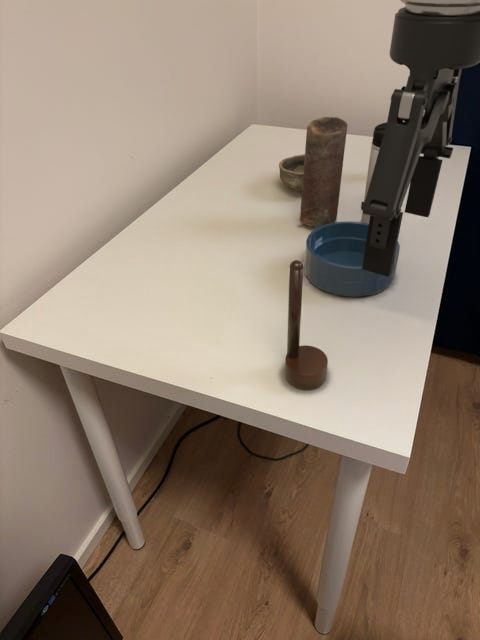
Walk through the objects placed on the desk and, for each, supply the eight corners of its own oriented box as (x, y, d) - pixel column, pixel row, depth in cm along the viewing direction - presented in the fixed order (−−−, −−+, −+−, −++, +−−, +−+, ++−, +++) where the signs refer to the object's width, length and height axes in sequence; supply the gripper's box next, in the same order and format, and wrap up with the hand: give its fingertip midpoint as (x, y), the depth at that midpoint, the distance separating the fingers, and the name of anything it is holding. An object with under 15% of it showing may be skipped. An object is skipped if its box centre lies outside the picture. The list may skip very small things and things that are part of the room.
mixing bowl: (404, 263, 86) (411, 233, 82) (376, 309, 76) (381, 278, 73) (325, 242, 93) (328, 214, 89) (289, 283, 83) (290, 253, 79)
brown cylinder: (344, 222, 99) (355, 120, 86) (323, 236, 95) (332, 132, 82) (313, 211, 103) (319, 113, 90) (292, 224, 99) (296, 123, 86)
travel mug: (397, 234, 94) (418, 129, 81) (363, 235, 94) (378, 130, 82) (390, 219, 99) (408, 117, 86) (358, 219, 99) (371, 118, 86)
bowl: (266, 193, 110) (266, 149, 104) (303, 166, 121) (304, 126, 115) (320, 207, 104) (323, 161, 98) (354, 177, 115) (359, 135, 109)
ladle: (332, 369, 67) (345, 259, 55) (315, 396, 63) (325, 285, 52) (295, 356, 69) (301, 248, 58) (277, 381, 65) (279, 271, 54)
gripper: (438, -14, 48) (400, 188, 62) (338, 30, 32) (316, 290, 46) (521, -12, 45) (461, 200, 58) (456, 38, 29) (395, 314, 42)
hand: (398, 240), depth 52 cm, fingers open, 13 cm apart
